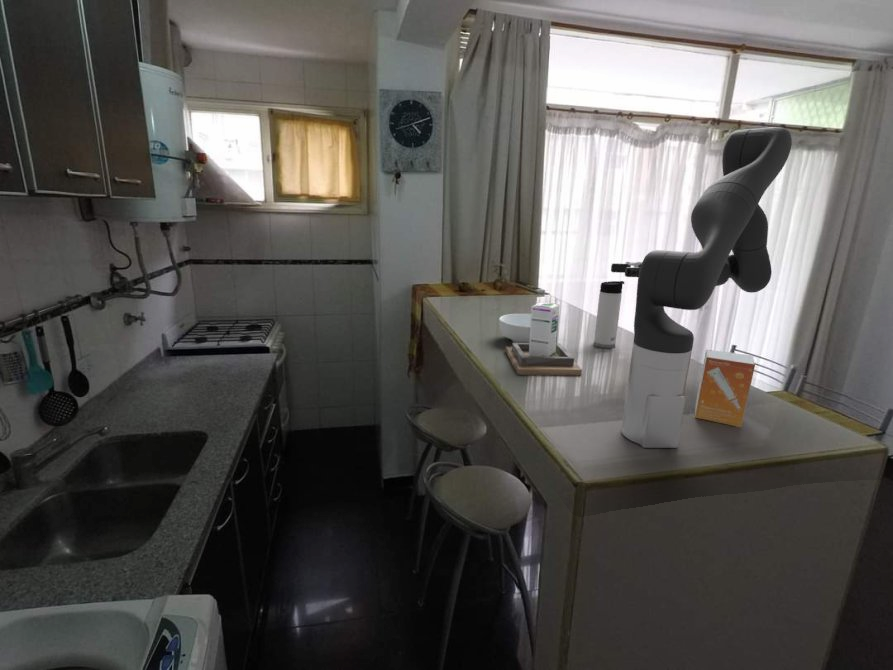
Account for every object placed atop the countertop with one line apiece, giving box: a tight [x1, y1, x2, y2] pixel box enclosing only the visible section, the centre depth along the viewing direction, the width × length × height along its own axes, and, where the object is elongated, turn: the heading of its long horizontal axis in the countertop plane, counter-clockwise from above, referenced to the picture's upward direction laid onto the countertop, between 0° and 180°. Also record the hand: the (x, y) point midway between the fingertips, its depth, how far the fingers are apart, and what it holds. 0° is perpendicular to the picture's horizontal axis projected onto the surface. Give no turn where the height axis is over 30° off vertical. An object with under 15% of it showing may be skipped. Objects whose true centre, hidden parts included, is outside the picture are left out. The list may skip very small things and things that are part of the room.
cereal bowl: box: [498, 313, 531, 343], centre depth 141 cm, size 17×17×7 cm
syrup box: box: [529, 301, 560, 357], centre depth 119 cm, size 6×6×14 cm
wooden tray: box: [505, 342, 583, 376], centre depth 121 cm, size 19×16×4 cm
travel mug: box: [593, 280, 625, 349], centre depth 136 cm, size 6×7×20 cm
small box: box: [694, 349, 756, 428], centre depth 89 cm, size 8×6×13 cm
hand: (618, 269), depth 110 cm, fingers open, 8 cm apart
